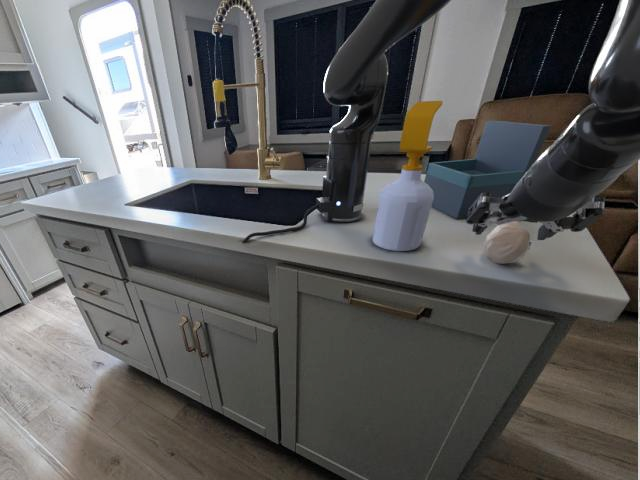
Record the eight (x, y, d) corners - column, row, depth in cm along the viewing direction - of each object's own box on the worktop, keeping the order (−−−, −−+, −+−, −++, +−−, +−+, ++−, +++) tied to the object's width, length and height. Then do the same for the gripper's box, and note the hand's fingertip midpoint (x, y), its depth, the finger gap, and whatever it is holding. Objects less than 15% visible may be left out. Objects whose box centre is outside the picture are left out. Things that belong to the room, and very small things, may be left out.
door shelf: (456, 219, 72) (485, 131, 62) (419, 200, 85) (438, 125, 75) (513, 213, 72) (551, 125, 62) (467, 195, 85) (493, 120, 75)
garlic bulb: (530, 262, 53) (552, 217, 49) (507, 272, 51) (528, 226, 47) (490, 249, 58) (507, 207, 54) (467, 258, 56) (483, 215, 52)
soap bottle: (426, 239, 64) (466, 98, 50) (411, 256, 58) (451, 102, 45) (382, 231, 69) (407, 101, 55) (365, 245, 64) (388, 105, 50)
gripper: (649, 150, 36) (565, 215, 50) (498, 151, 41) (462, 209, 56) (643, 210, 35) (559, 258, 50) (489, 202, 40) (455, 247, 55)
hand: (508, 232), depth 53 cm, fingers open, 8 cm apart
